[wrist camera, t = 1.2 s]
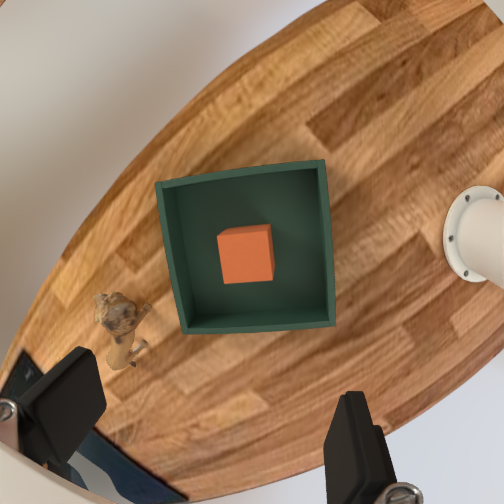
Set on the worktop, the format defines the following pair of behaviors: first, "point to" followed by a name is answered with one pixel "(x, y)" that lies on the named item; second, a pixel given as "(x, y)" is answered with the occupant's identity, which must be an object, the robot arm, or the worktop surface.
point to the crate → (284, 244)
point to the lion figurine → (120, 327)
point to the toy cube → (247, 254)
